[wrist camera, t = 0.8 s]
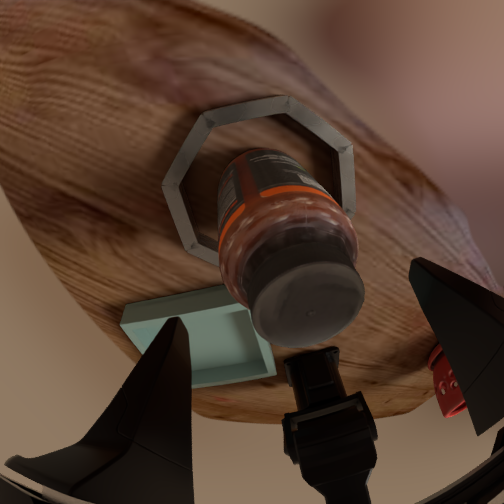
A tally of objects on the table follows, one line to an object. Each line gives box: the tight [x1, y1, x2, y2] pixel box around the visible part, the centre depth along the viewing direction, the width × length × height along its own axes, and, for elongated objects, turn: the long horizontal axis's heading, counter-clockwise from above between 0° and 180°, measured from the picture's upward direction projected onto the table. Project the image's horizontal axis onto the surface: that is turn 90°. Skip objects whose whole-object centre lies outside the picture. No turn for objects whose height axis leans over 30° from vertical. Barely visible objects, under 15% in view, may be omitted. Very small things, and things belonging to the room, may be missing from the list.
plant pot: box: [428, 343, 467, 418], centre depth 30 cm, size 13×13×12 cm
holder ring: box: [161, 95, 356, 267], centre depth 17 cm, size 12×12×2 cm
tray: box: [120, 284, 277, 388], centre depth 25 cm, size 12×12×2 cm
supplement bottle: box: [217, 148, 365, 348], centre depth 13 cm, size 6×6×11 cm
